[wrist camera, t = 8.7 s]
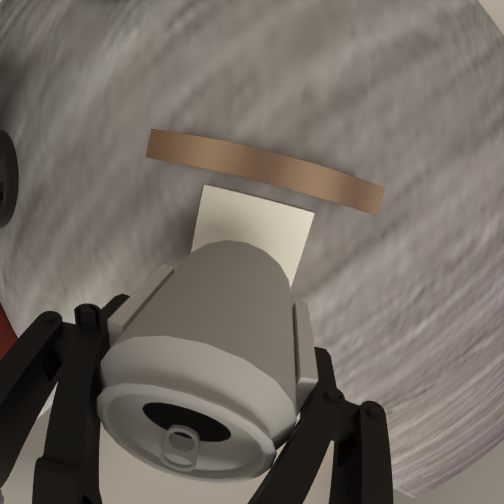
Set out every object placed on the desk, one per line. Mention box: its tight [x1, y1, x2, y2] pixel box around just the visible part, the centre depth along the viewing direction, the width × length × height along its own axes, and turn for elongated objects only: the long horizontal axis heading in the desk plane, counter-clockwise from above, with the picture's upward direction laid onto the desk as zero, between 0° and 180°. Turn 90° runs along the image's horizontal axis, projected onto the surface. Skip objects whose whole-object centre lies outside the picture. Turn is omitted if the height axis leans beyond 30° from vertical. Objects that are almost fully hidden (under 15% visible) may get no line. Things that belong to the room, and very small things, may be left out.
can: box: [97, 240, 296, 484], centre depth 13 cm, size 8×8×12 cm
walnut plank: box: [146, 129, 385, 216], centre depth 20 cm, size 16×2×7 cm, turn 76°
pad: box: [191, 184, 314, 288], centre depth 26 cm, size 10×10×1 cm
